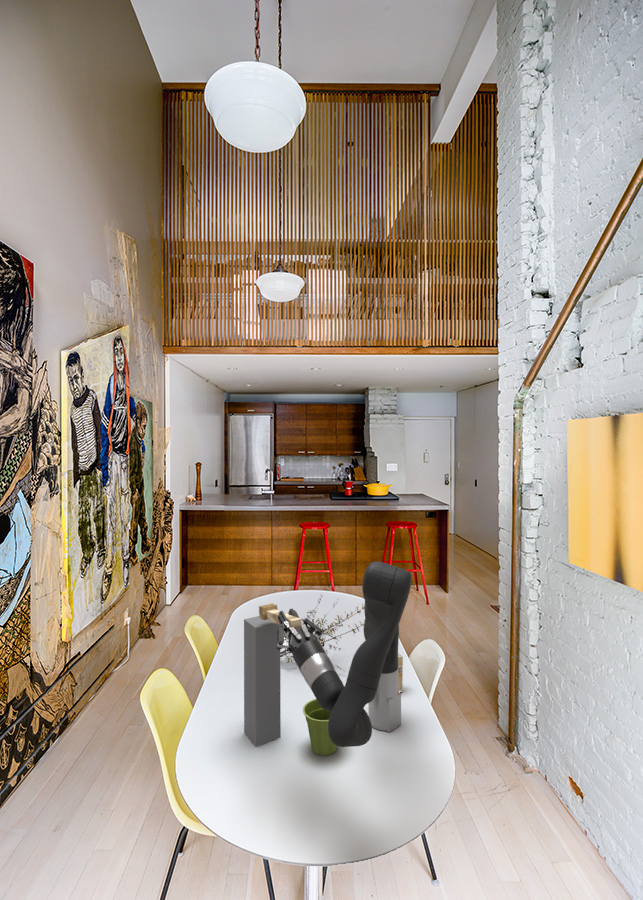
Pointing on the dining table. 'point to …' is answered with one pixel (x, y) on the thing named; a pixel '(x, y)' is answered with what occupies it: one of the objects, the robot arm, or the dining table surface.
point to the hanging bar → (272, 614)
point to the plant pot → (318, 728)
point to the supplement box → (400, 671)
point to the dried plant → (325, 630)
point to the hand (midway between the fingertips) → (285, 612)
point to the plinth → (261, 681)
